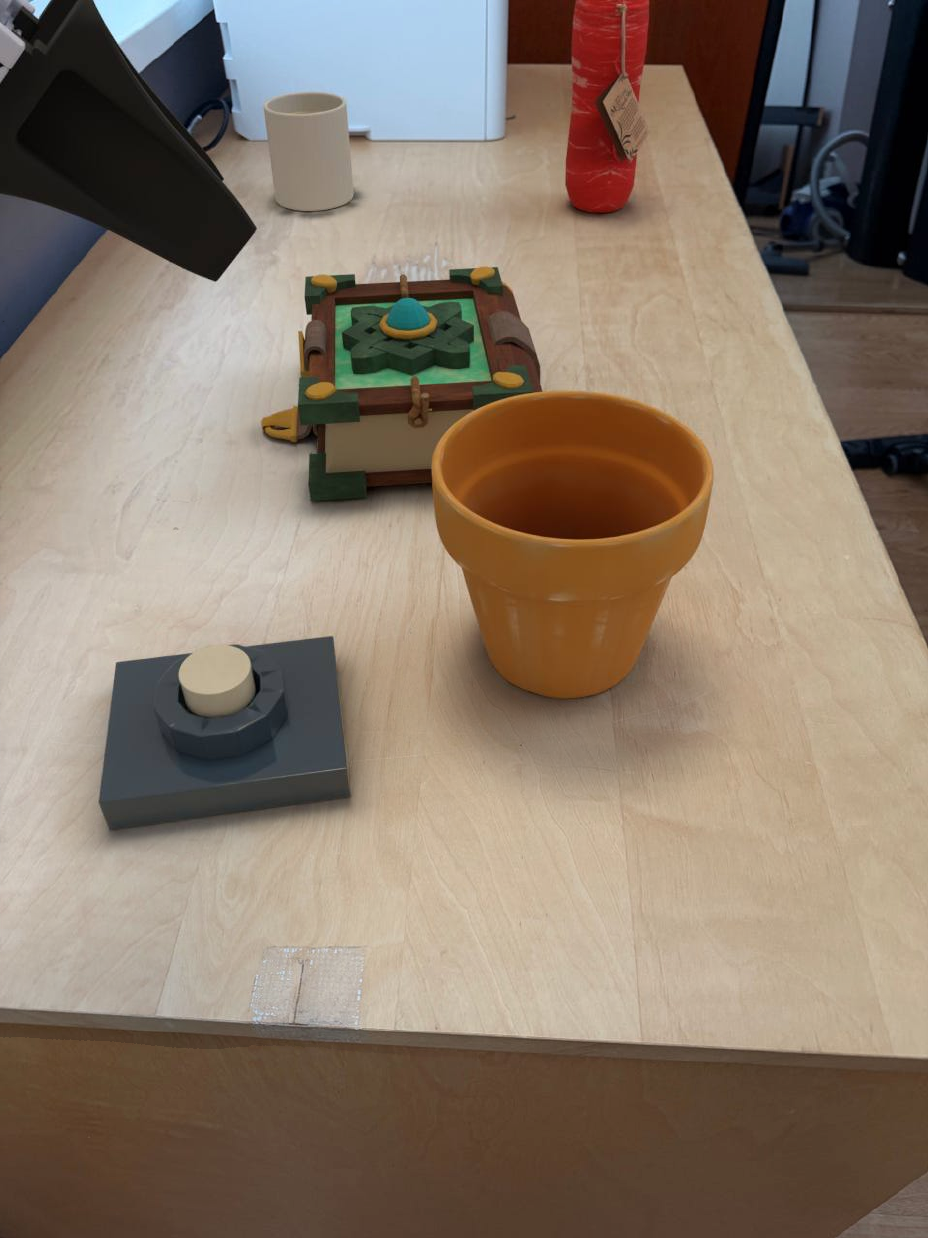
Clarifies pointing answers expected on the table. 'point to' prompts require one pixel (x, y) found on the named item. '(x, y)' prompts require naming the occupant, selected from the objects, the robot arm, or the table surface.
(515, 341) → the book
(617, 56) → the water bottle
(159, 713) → the push button base
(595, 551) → the flower pot
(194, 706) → the cream cylinder puck
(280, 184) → the mug
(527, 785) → the table surface
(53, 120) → the robot arm
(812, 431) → the table surface
